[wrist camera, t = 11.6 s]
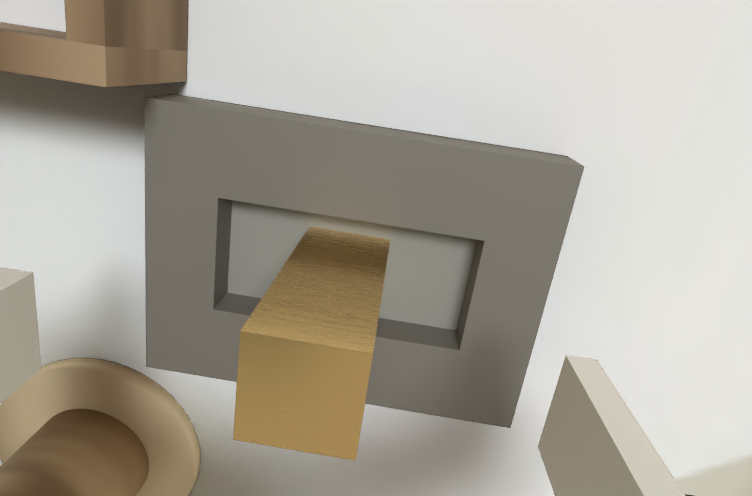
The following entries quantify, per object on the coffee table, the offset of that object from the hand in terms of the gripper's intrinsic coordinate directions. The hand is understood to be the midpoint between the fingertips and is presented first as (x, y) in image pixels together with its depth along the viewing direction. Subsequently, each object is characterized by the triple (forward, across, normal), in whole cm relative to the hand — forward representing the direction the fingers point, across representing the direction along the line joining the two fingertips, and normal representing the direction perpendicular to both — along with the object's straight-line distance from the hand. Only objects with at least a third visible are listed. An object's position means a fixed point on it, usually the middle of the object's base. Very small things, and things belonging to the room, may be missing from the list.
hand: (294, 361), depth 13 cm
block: (+7, 0, 0) cm, 7 cm away
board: (+7, +1, 0) cm, 8 cm away
